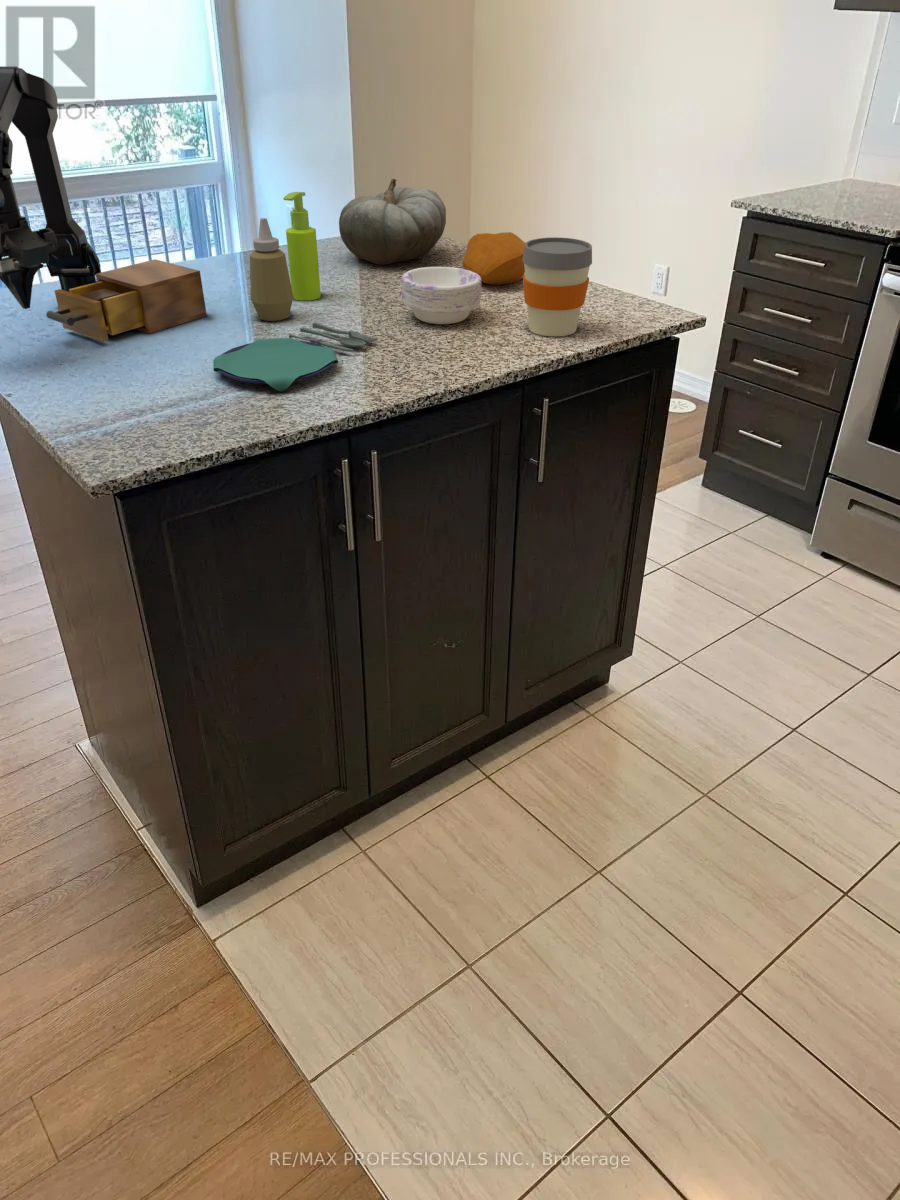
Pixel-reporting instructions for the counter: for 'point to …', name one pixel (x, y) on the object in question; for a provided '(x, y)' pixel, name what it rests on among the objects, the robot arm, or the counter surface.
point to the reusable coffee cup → (555, 283)
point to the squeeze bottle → (269, 277)
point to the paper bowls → (441, 293)
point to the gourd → (393, 224)
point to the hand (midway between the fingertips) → (26, 308)
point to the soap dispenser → (302, 252)
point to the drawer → (98, 310)
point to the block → (99, 296)
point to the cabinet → (162, 292)
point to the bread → (495, 257)
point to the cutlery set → (285, 357)
